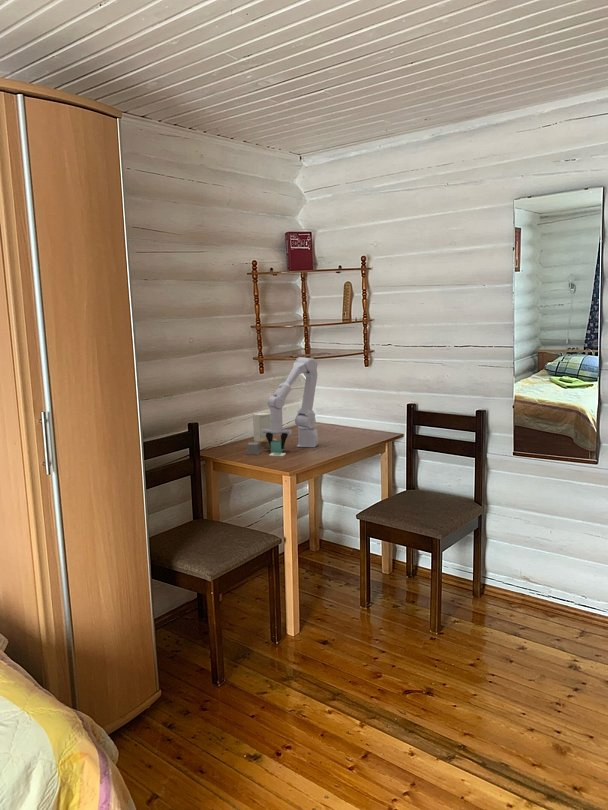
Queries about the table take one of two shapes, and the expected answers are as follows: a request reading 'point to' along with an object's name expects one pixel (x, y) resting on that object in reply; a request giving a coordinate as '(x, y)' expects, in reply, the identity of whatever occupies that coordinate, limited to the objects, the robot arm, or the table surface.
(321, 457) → the table surface
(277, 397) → the robot arm
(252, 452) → the charcoal cube
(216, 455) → the table surface
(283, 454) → the card
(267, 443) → the walnut block
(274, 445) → the teal cube
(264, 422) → the skincare box
